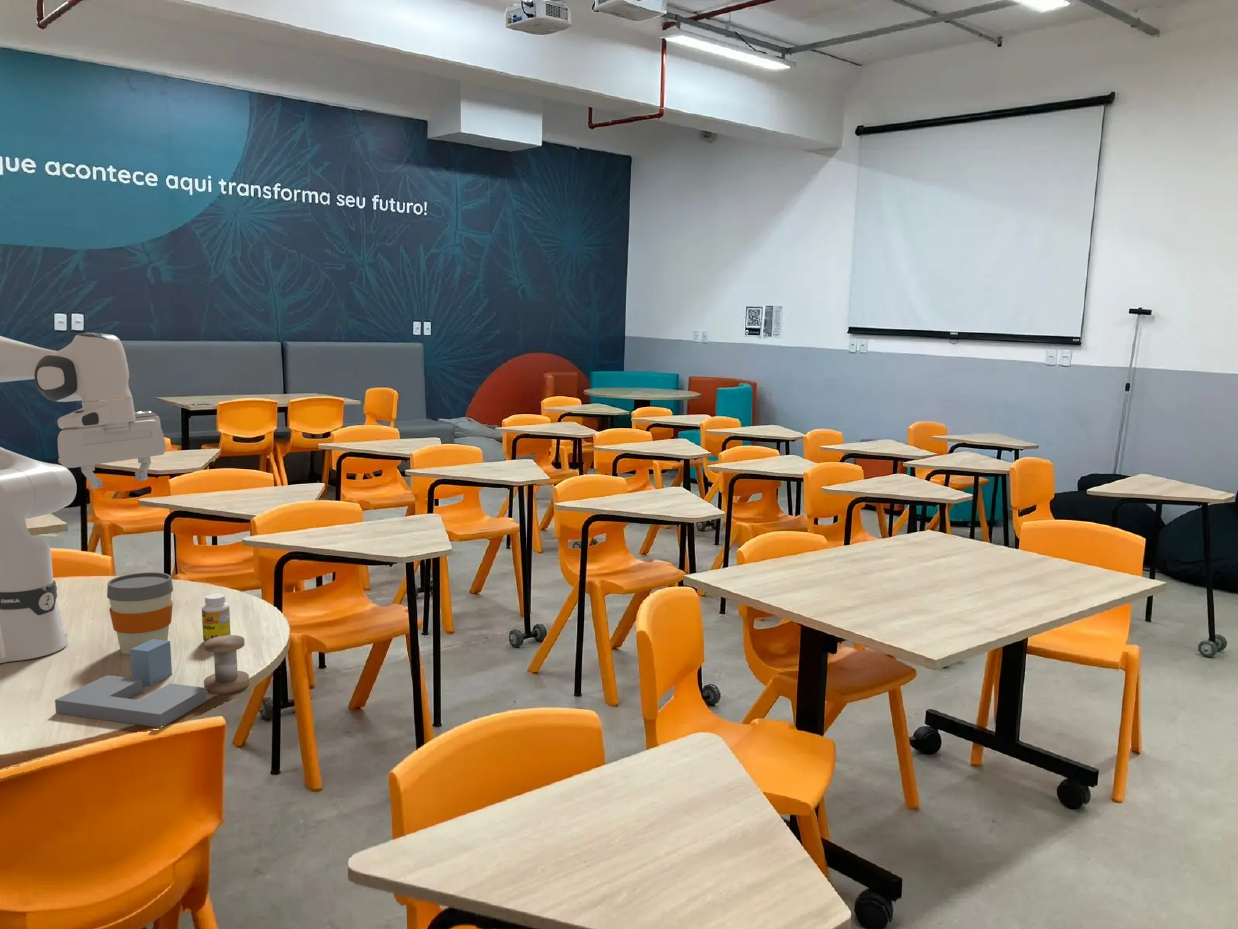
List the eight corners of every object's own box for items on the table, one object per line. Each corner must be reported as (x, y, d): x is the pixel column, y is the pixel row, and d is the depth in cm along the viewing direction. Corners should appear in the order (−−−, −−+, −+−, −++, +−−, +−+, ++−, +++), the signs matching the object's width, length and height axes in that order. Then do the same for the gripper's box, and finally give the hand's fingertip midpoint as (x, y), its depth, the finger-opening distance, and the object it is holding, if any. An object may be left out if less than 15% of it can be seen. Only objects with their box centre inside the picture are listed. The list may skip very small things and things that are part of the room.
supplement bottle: (197, 642, 201) (195, 597, 199) (219, 634, 206) (217, 590, 204) (214, 647, 198) (212, 601, 197) (236, 639, 203) (234, 594, 201)
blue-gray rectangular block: (132, 683, 178) (130, 649, 177) (154, 672, 184) (152, 639, 183) (150, 686, 177) (148, 651, 176) (172, 674, 183) (170, 641, 182)
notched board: (56, 713, 164) (54, 699, 164) (107, 687, 176) (106, 675, 175) (161, 728, 159) (160, 714, 159) (207, 700, 171) (206, 688, 170)
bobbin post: (195, 691, 175) (192, 646, 173) (222, 676, 182) (220, 632, 181) (231, 696, 173) (229, 650, 171) (257, 680, 181) (255, 636, 179)
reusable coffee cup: (149, 660, 190) (145, 590, 187) (96, 655, 192) (91, 586, 190) (189, 640, 202) (185, 574, 199) (139, 635, 204) (135, 570, 202)
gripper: (148, 410, 191) (157, 476, 193) (48, 420, 173) (59, 492, 175) (167, 409, 188) (177, 476, 190) (67, 419, 170) (79, 492, 172)
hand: (119, 484), depth 182 cm, fingers open, 8 cm apart
